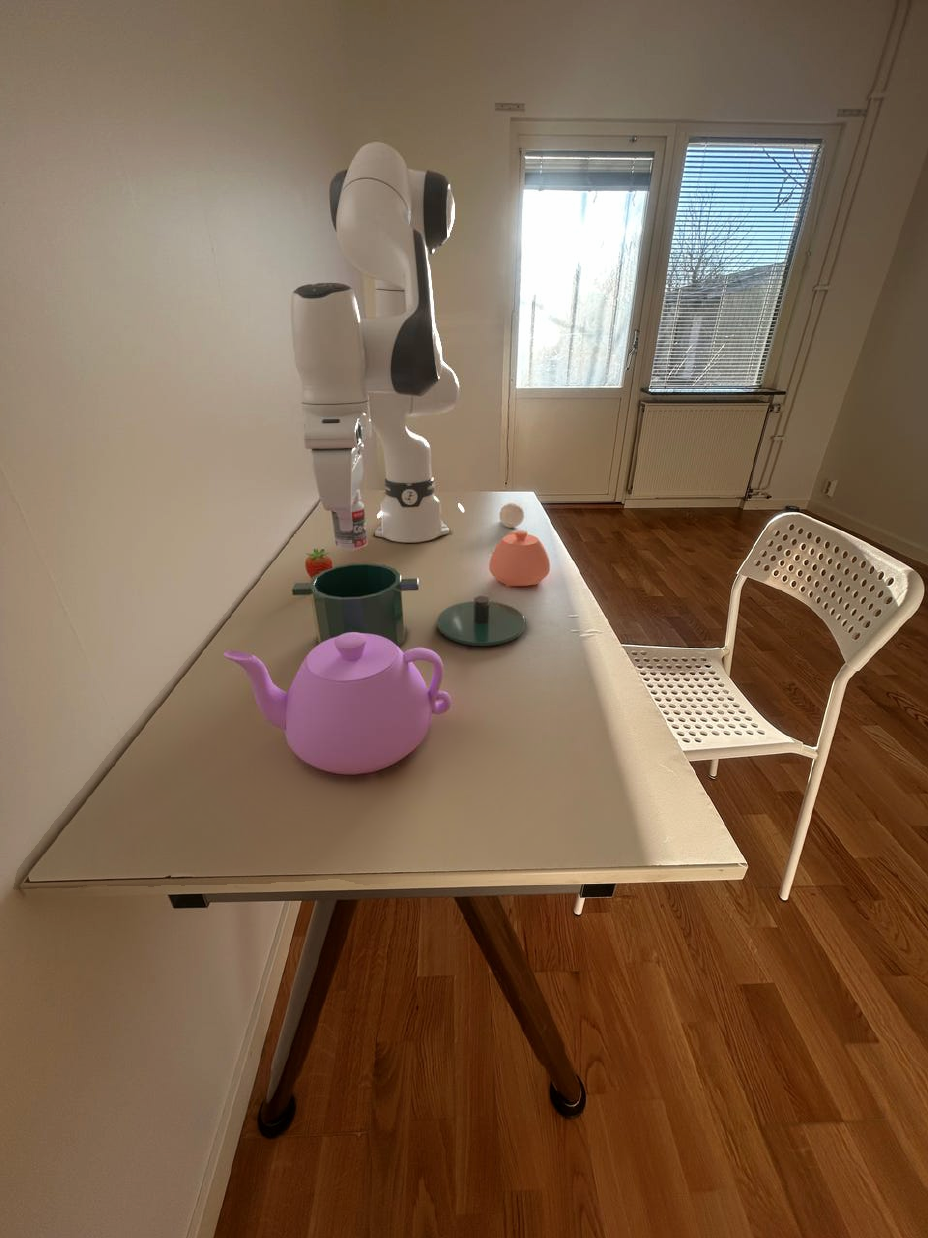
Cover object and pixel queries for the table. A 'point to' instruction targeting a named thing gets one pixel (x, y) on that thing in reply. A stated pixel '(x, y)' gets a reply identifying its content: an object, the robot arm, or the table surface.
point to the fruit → (317, 563)
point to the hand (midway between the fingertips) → (349, 523)
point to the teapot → (351, 702)
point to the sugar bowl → (519, 560)
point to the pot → (358, 601)
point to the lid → (481, 622)
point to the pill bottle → (358, 534)
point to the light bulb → (511, 515)
